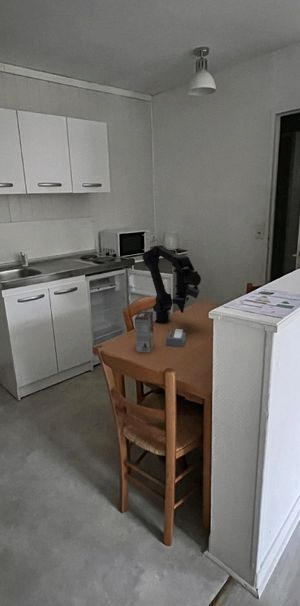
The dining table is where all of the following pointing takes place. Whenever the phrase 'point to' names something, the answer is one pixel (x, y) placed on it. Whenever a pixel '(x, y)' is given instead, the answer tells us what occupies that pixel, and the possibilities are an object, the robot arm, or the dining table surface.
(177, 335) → the slat
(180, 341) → the end cap
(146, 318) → the coffee box
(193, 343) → the dining table surface
